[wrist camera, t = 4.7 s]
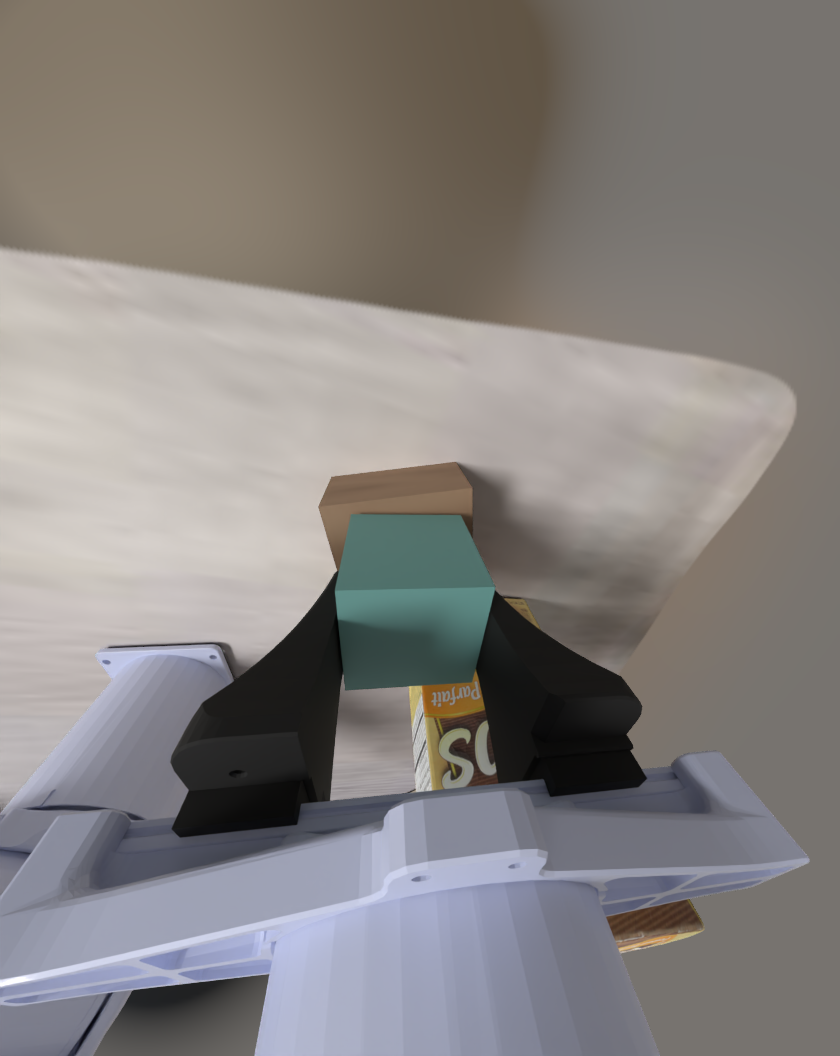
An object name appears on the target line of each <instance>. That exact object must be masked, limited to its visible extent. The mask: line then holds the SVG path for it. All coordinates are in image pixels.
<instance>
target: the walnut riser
mask: <svg viewBox="0 0 840 1056" xmlns="http://www.w3.org/2000/svg"><path fill="white" fill-rule="evenodd" d="M472 502H473V488H472V486H471V485H470V483H469V482H468V480H467V479H466V477H465V475H464V474H463V472H462V471H461V469H460V468H459V466H458V465H457V463H456V462H451V463H443V464H434V465H426V466H418V467H409V468H401V469H393V470H385V471H376V472H368V473H360V474H351V475H343V476H335V477H331V479H330V482H329V484H328V486H327V489H326V491H325V493H324V495H323V498H322V500H321V502H320V504H319V511H320V514H321V517H322V521H323V524H324V527H325V531H326V534H327V538H328V541H329V544H330V548H331V551H332V554H333V558H334V561H335V564H336V568H337V571H339V569H340V564H341V559H342V554H343V550H344V545H345V540H346V536H347V531H348V526H349V521H350V517H351V514H389V515H461V517H462V519H463V521H464V523H465V525H466V527H467V529H468V531H469V533H470V535H471V537H472Z"/></svg>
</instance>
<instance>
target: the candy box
mask: <svg viewBox="0 0 840 1056" xmlns="http://www.w3.org/2000/svg"><path fill="white" fill-rule="evenodd" d="M504 599H505V600H506V601H507V602H508V603H509V604H510V605H511V606H512V607H513V608H514V609H515V610H516V611H518V612H519V613H520V614H521V615H522V616H523V617H525V618H526V619H527V620H528V621H529V622H531V623H532V624H533V625H535V626H536V627H537V628H539V629H540V627H539V625H538V624H537V622H536V620H535V618H534V616H533V615H532V613H531V611H530V609H529V607H528V605H527V604H526V602H525V601H524V600H523V599H509V598H504ZM540 630H541V629H540ZM409 695H410V709H411V722H412V738H413V754H414V768H415V785H416V792H422V791H432V790H442V789H452V788H461V787H471V786H481V785H491V784H498V778H497V772H496V766H495V760H494V754H493V748H492V743H491V738H490V732H489V727H488V722H487V717H486V712H485V707H484V702H483V697H482V693H481V688H480V684H479V679H478V676H477V672H476V669H475V673H474V677H473V681H472V682H471V683H455V684H439V685H423V686H409ZM606 918H607V921H608V924H609V926H610V929H611V931H612V934H613V936H614V939H615V941H616V944H617V947H618V949H619V952H620V953H623V952H628V951H633V950H639V949H643V948H648V947H652V946H656V945H661V944H665V943H668V942H672V941H676V940H679V939H683V938H687V937H689V936H692V935H695V934H697V933H700V932H701V931H703V930H704V924H703V922H702V920H701V918H700V917H699V915H698V913H697V912H696V910H695V908H694V906H693V904H692V903H691V901H690V899H686V900H681V901H676V902H672V903H667V904H662V905H658V906H653V907H649V908H644V909H639V910H635V911H630V912H625V913H621V914H616V915H612V916H607V917H606Z"/></svg>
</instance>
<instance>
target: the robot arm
mask: <svg viewBox="0 0 840 1056" xmlns="http://www.w3.org/2000/svg"><path fill="white" fill-rule="evenodd" d="M338 573H339V571H337V572H336V573H335V574H334V575H333V577H332V579H331V581H330V582H329V584H328V585H327V587H326V588H325V590H324V591H323V593H322V594H321V596H320V597H319V598H318V600H317V601H316V602H315V604H314V605H313V606H312V608H311V609H310V610H309V611H308V613H307V614H306V615H305V616H304V617H303V619H302V620H301V621H300V622H299V623H298V624H297V626H296V627H295V628H294V629H293V630H292V631H291V632H290V633H289V634H288V635H287V636H286V637H285V638H284V639H283V640H282V641H281V642H280V643H279V644H278V645H277V646H276V647H275V648H274V649H273V650H271V651H270V652H269V653H268V654H267V655H266V656H265V657H264V658H262V659H261V660H260V661H259V662H258V663H256V664H255V665H254V666H253V667H251V668H250V669H249V670H248V671H246V672H245V673H244V674H243V675H241V676H240V677H239V678H237V679H236V680H235V681H234V679H233V677H232V674H231V672H230V669H229V667H228V664H227V662H226V659H225V657H224V655H223V652H222V650H221V648H220V647H219V646H218V645H215V644H206V645H180V646H155V647H129V648H105V649H101V650H99V651H98V652H97V653H96V655H95V656H96V659H97V660H98V661H99V663H100V664H101V665H102V667H103V668H104V669H105V671H106V672H107V673H108V675H109V676H110V677H111V679H112V681H111V682H110V683H109V685H108V686H107V687H106V688H105V689H104V691H103V692H102V693H101V694H100V695H99V697H98V698H97V699H96V700H95V701H94V702H93V704H92V705H91V706H90V707H89V708H88V710H87V711H86V712H85V713H84V714H83V716H82V717H81V718H80V719H79V720H78V721H77V723H76V724H75V725H74V726H73V727H72V729H71V730H70V731H69V732H68V733H67V735H66V736H65V737H64V738H63V739H62V740H61V742H60V743H59V744H58V745H57V746H56V748H55V749H54V750H53V751H52V752H51V754H50V755H49V756H48V757H47V758H46V759H45V761H44V762H43V763H42V764H41V765H40V767H39V768H38V769H37V770H36V771H35V773H34V774H33V775H32V776H31V777H30V778H29V780H28V781H27V782H26V783H25V784H24V786H23V787H22V788H21V789H20V790H19V792H18V793H17V794H16V795H15V796H14V798H13V799H12V800H11V801H10V802H9V803H8V805H7V806H6V807H5V808H4V809H3V811H2V812H1V813H0V1056H93V1054H94V1053H95V1051H96V1049H97V1047H98V1045H99V1044H100V1042H101V1040H102V1038H103V1037H104V1035H105V1033H106V1032H107V1030H108V1029H109V1027H110V1026H111V1024H112V1023H113V1021H114V1020H115V1018H116V1017H117V1015H118V1014H119V1012H120V1010H121V1009H122V1007H123V1006H124V1004H125V1002H126V1000H127V998H128V997H129V995H130V993H131V992H132V990H135V989H143V988H152V987H160V986H169V985H178V984H186V983H195V982H203V981H212V980H221V979H229V978H238V977H246V976H254V975H264V974H270V975H269V981H268V986H267V991H266V997H265V1003H264V1007H263V1013H262V1018H261V1024H260V1029H259V1034H258V1040H257V1045H256V1050H255V1056H660V1054H659V1051H658V1049H657V1046H656V1044H655V1041H654V1039H653V1036H652V1033H651V1031H650V1029H649V1026H648V1024H647V1021H646V1018H645V1016H644V1013H643V1010H642V1008H641V1005H640V1003H639V1000H638V998H637V995H636V993H635V990H634V987H633V985H632V982H631V980H630V977H629V975H628V972H627V970H626V967H625V965H624V962H623V959H622V957H621V954H620V952H619V949H618V947H617V944H616V941H615V939H614V936H613V934H612V931H611V929H610V926H609V924H608V921H607V918H606V917H607V916H612V915H616V914H621V913H625V912H630V911H635V910H639V909H644V908H649V907H653V906H658V905H662V904H667V903H672V902H676V901H681V900H686V899H691V898H695V897H700V896H705V895H711V894H717V893H722V892H728V891H733V890H739V889H745V888H750V887H753V886H755V885H758V884H760V883H762V882H765V881H767V880H769V879H772V878H774V877H777V876H778V875H781V874H783V873H786V872H788V871H791V870H793V869H795V868H797V867H800V866H802V865H805V864H807V863H809V857H808V856H807V855H806V854H805V853H804V851H803V850H802V849H801V848H800V847H799V845H798V844H797V843H796V842H795V841H794V840H793V838H792V837H791V836H790V835H789V834H788V833H787V831H786V830H785V829H784V828H783V826H782V825H781V824H780V823H779V822H778V821H777V819H776V818H775V817H774V816H773V815H772V813H771V812H770V811H769V810H768V809H767V808H766V806H765V805H764V804H763V803H762V802H761V801H760V799H759V798H758V797H757V796H756V794H755V793H754V792H753V791H752V790H751V788H750V787H749V786H748V785H747V784H746V783H745V781H744V780H743V779H742V778H741V777H740V775H739V774H738V773H737V772H736V771H735V770H734V769H733V767H732V766H731V765H730V764H729V762H728V761H727V760H726V759H725V758H724V757H723V755H722V754H721V753H720V752H719V751H716V750H713V751H702V752H692V753H687V754H683V755H681V756H679V757H678V758H676V759H675V760H674V761H673V762H672V764H671V766H668V767H658V768H649V769H641V767H640V766H639V764H638V762H637V761H636V760H635V758H634V756H633V755H632V753H631V751H630V750H632V749H633V744H632V743H631V741H630V740H629V738H628V736H627V735H626V734H627V733H628V732H629V730H630V729H631V728H632V726H633V725H634V724H635V723H636V721H637V720H638V718H639V717H640V715H641V711H642V705H641V703H640V701H639V700H638V698H637V697H636V696H635V695H634V693H633V692H632V690H631V689H630V687H629V686H628V685H627V683H626V682H625V681H624V680H623V679H622V677H621V676H619V675H617V674H615V673H613V672H611V671H609V670H607V669H605V668H603V667H601V666H599V665H597V664H595V663H593V662H591V661H589V660H587V659H586V658H584V657H582V656H580V655H578V654H577V653H575V652H573V651H572V650H570V649H568V648H567V647H565V646H563V645H562V644H560V643H559V642H557V641H556V640H554V639H553V638H551V637H550V636H548V635H547V634H545V633H544V632H543V631H541V630H540V629H539V628H537V627H536V626H535V625H533V624H532V623H531V622H529V621H528V620H527V619H526V618H525V617H523V616H522V615H521V614H520V613H519V612H518V611H516V610H515V609H514V608H513V607H512V606H511V605H510V604H509V603H508V602H507V601H506V600H505V599H504V598H503V597H502V596H501V595H500V594H499V593H498V592H497V591H496V590H495V591H494V595H493V599H492V604H491V608H490V612H489V616H488V620H487V624H486V628H485V632H484V636H483V640H482V644H481V649H480V653H479V657H478V661H477V665H476V672H477V676H478V679H479V684H480V688H481V693H482V697H483V702H484V707H485V712H486V717H487V722H488V727H489V732H490V738H491V743H492V748H493V754H494V760H495V766H496V772H497V778H498V784H491V785H481V786H471V787H461V788H452V789H442V790H432V791H422V792H412V793H403V794H393V795H383V796H373V797H363V798H353V799H344V800H334V801H330V793H331V780H332V768H333V757H334V746H335V735H336V725H337V715H338V705H339V695H340V686H341V680H342V674H343V664H342V654H341V645H340V635H339V626H338V616H337V607H336V597H335V588H336V583H337V578H338Z"/></svg>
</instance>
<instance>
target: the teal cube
mask: <svg viewBox="0 0 840 1056" xmlns="http://www.w3.org/2000/svg"><path fill="white" fill-rule="evenodd" d="M494 591H495V585H494V583H493V581H492V579H491V577H490V575H489V572H488V570H487V568H486V566H485V564H484V562H483V560H482V558H481V556H480V554H479V552H478V550H477V548H476V546H475V543H474V541H473V539H472V537H471V535H470V533H469V531H468V529H467V527H466V525H465V523H464V521H463V519H462V517H461V515H389V514H351V517H350V521H349V526H348V531H347V536H346V540H345V545H344V550H343V554H342V559H341V564H340V569H339V573H338V578H337V583H336V588H335V597H336V607H337V616H338V626H339V635H340V645H341V654H342V664H343V674H344V683H345V690H359V689H375V688H391V687H407V686H423V685H439V684H455V683H471V682H472V681H473V677H474V673H475V669H476V665H477V661H478V657H479V653H480V649H481V644H482V640H483V636H484V632H485V628H486V624H487V620H488V616H489V612H490V608H491V604H492V599H493V595H494Z"/></svg>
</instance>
